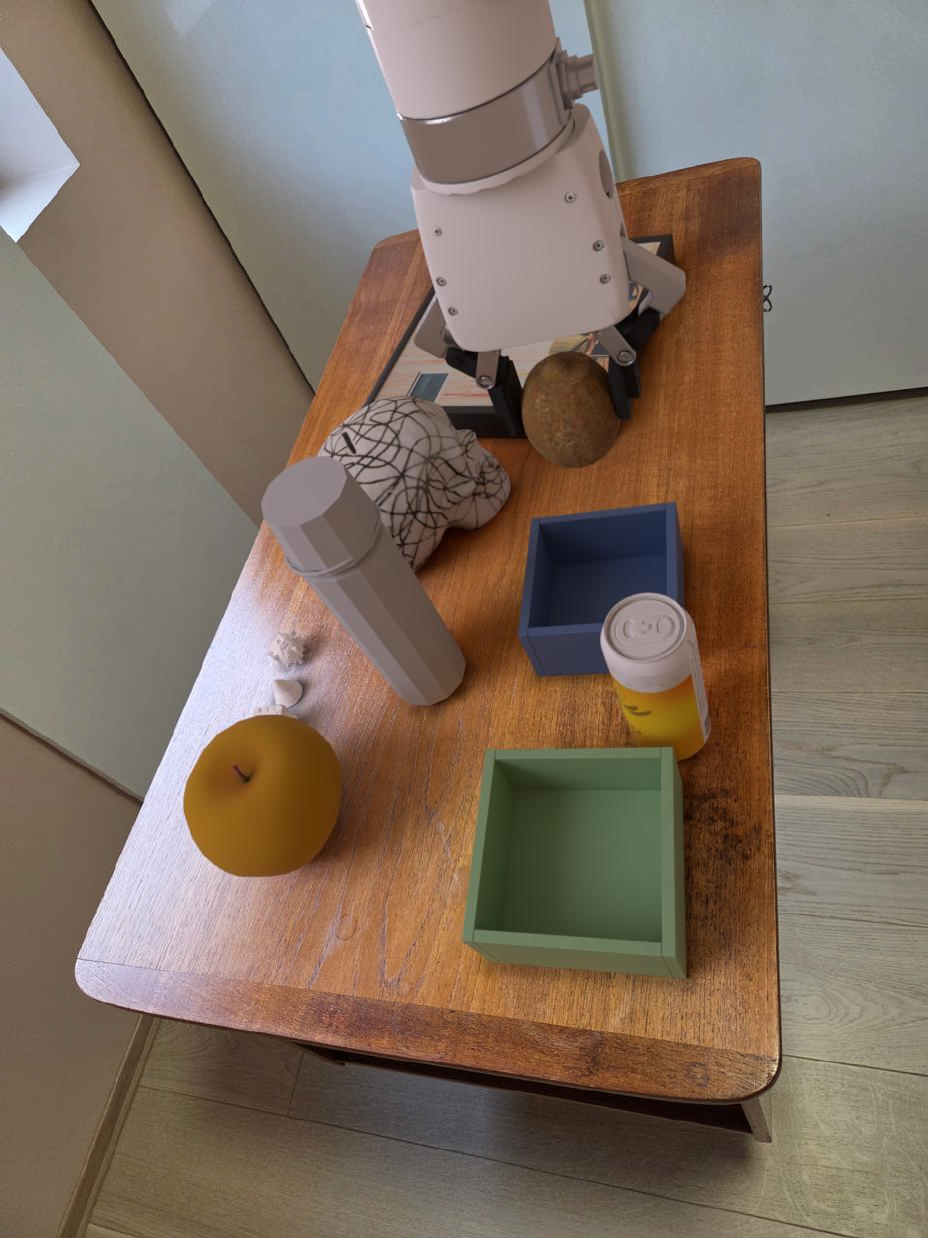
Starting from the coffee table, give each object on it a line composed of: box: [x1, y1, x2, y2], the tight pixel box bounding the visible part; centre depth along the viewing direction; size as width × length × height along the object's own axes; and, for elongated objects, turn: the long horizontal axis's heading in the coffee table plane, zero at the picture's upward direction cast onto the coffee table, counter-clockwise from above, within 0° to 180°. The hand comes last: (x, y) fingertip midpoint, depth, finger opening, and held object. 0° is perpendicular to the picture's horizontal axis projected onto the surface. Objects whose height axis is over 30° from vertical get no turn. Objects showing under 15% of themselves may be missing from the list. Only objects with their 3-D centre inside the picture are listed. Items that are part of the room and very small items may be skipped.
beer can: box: [600, 593, 712, 762], centre depth 55 cm, size 6×6×15 cm
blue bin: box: [517, 501, 686, 677], centre depth 67 cm, size 13×13×7 cm
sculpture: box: [315, 396, 512, 574], centre depth 77 cm, size 15×20×15 cm
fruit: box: [520, 351, 622, 469], centre depth 49 cm, size 6×6×8 cm
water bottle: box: [260, 456, 467, 707], centre depth 63 cm, size 9×8×25 cm
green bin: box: [461, 746, 687, 979], centre depth 54 cm, size 14×14×7 cm
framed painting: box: [360, 233, 677, 440], centre depth 93 cm, size 30×4×30 cm
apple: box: [182, 714, 344, 878], centre depth 63 cm, size 13×13×11 cm
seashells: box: [252, 628, 306, 719], centre depth 75 cm, size 12×3×3 cm, turn 0°
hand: (571, 411), depth 49 cm, fingers closed on fruit, 6 cm apart
